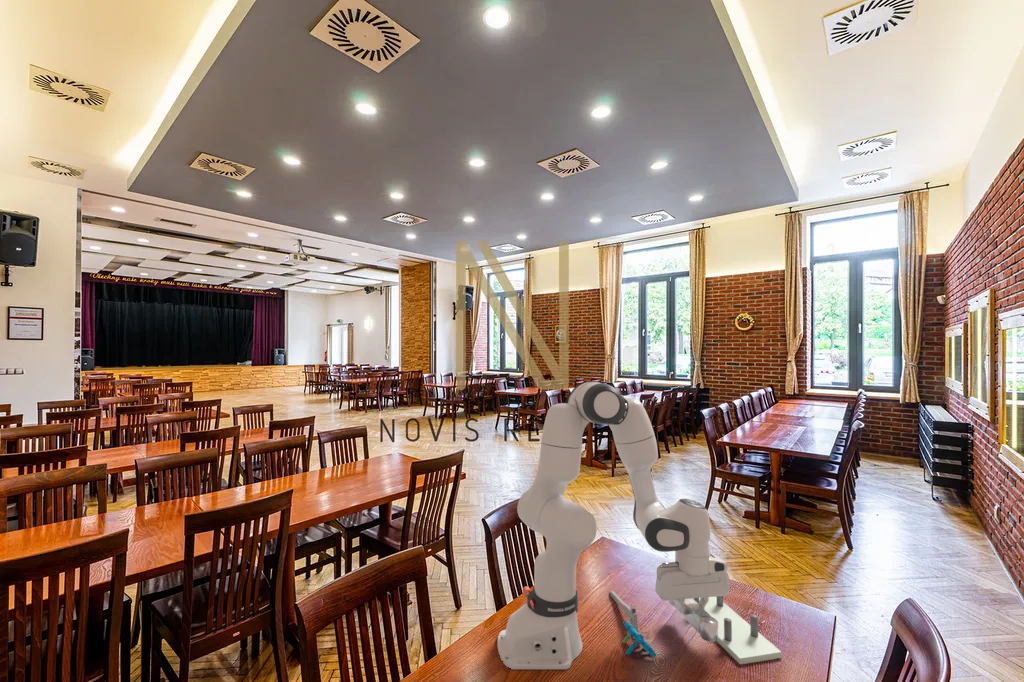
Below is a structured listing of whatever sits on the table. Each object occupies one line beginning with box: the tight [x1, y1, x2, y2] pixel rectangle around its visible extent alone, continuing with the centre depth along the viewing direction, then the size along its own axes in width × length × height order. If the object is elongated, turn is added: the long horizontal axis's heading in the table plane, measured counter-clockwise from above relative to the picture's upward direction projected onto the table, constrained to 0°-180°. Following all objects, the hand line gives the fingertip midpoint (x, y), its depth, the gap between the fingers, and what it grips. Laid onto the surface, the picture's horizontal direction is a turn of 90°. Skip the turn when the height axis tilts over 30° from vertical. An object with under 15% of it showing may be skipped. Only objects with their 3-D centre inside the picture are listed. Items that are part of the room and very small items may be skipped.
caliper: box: [609, 590, 639, 633], centre depth 130 cm, size 20×1×6 cm, turn 7°
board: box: [693, 596, 783, 665], centre depth 123 cm, size 12×28×6 cm, turn 11°
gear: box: [622, 620, 657, 658], centre depth 112 cm, size 11×6×10 cm
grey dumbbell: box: [668, 598, 718, 643], centre depth 118 cm, size 4×19×4 cm, turn 10°
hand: (692, 612), depth 118 cm, fingers closed on grey dumbbell, 3 cm apart
